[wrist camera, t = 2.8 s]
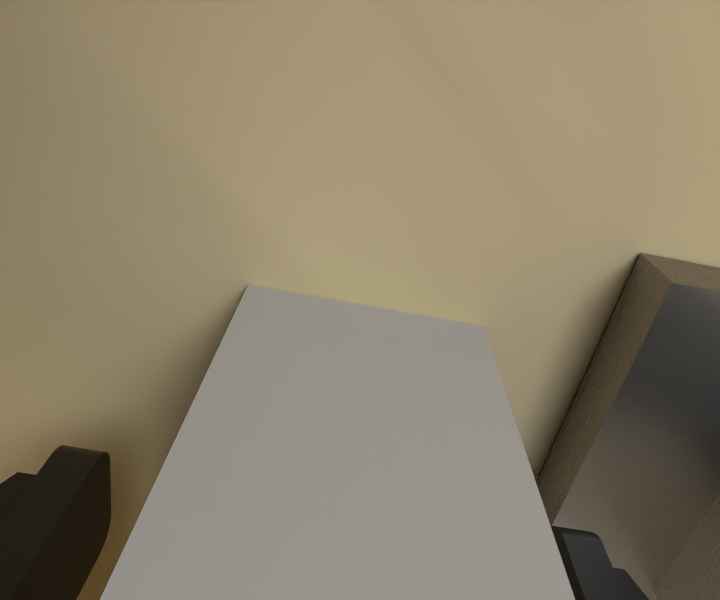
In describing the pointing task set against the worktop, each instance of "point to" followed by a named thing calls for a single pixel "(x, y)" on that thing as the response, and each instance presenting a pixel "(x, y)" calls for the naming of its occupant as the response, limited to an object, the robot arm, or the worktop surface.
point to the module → (344, 468)
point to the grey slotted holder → (649, 435)
